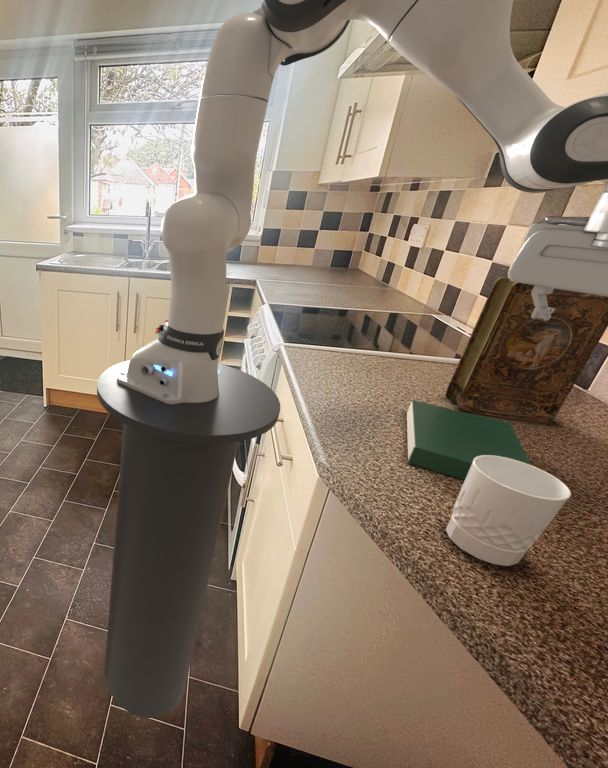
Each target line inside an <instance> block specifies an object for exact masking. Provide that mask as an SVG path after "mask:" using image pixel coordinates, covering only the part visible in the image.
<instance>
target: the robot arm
mask: <svg viewBox="0 0 608 768" xmlns="http://www.w3.org/2000/svg"><path fill="white" fill-rule="evenodd" d="M260 1H261V6H260V7H259V8H258V9H256V10H254V11H253V12H243V13H239V14H237V15H233V16H232V17H230V18H229V19H227V20H226V21H225V22H224V23H222V24H221V26H220V27H219V29H218V30H217V32H216V34H215V37H214V40H213V43H212V46H211V48H210V52H209V56H208V60H207V63H206V66H205V70H204V74H203V78H202V82H201V89H200V94H199V100H198V105H197V106H198V107H197V112H196V118H195V124H194V129H193V137H192V141H191V143H192V144H191V149H190V154H191V155H190V156H191V160H192V164H193V169H194V171H193V172H194V193H191V194H188V195H186V196H184V197H182V198H180V199H178V200H177V201H175V202H173V203H172V204H171V205H170V206H169V207H168V208H167V209H166V211H165V212H164V215H163V217H162V219H161V224H160V237H161V241H162V243H163V245H164V247H165V249H166V250H167V253H168V254H167V255H168V262H169V271H170V299H169V308H168V317H167V319H166V320H164V323H161V324H159V326H157V327H156V328H155V332H154V334H158V336H157V338H155V339H154V340H152V341H150V342H148V343H146V344H144V345H143V346H142V347H140V348H138V349H137V350H136V351H134V353H132V356H131V357H130V359H129V360H130V362H129V366H128V367H126V368H124V369H123V370H122V371H120V372H119V374H118V376H117V382H118V383H120V384H122V385H125V386H127V387H129V388H131V389H134V390H136V391H138V392H141V393H143V394H145V395H148V396H150V397H152V398H154V399H157V400H159V401H161V402H164V403H166V404H170V405H173V404H180V403H203V402H208V401H211V400H214V399H216V398H217V397H218V396H219V386H218V373H219V370H218V363H219V358H220V356H221V354H222V350H223V345H224V340H225V339H224V336H225V330H224V323H225V322H224V321H225V317H226V316H225V315H226V310H227V304H228V300H229V294H230V293H229V292H230V289H229V286H228V280H227V255H228V253H230V252H232V251H233V250H235V249H237V248H238V247H239V246H240V245H241V244H242V242H243V241H244V240H245V239H246V238H247V236H248V234H249V232H250V230H251V226H252V216H251V212H252V205H253V195H254V194H253V193H254V184H255V183H254V182H255V170H256V161H257V155H258V151H259V146H260V141H261V137H262V132H263V127H264V123H265V119H266V115H267V110H268V105H269V100H270V96H271V92H272V88H273V87H272V86H273V84H274V83H273V82H274V79H275V75H276V73H277V71H278V68H279V67H280V66H284V67H285V66H288V65H292V64H293V63H296V62H299V61H302V60H305V59H309V58H312V57H315V56H318V55H319V54H322V53H324V52H326V51H327V50H329V49H331V47H332V46H334V45H336V43H337V42H338V40H339V39H340V38H341V37H342V36H343V34H344V33H345V31H346V29H348V26H349V24H350V21H351V20H352V21H353V20H358V21H362V22H366V23H368V24H369V25H370V26H372V27H375V28H376V30H377V31H378V32H379V34H380V35H381V36H382V37H383V38H384V39H385V40H386V41H387V42H388V43H389V45H390V46H391V47H392V48H393V49H394V50H395V51H396V52H398V53H399V55H401V56H402V57H404V58H405V60H407V61H408V62H409V63H411V64H412V65H413V66H414V67H415V68H417V69H418V70H420V71H422V72H423V73H424V74H426V75H427V76H428V77H430V78H431V79H433V80H434V81H435V82H437V83H438V84H439V85H441V86H442V87H443V88H445V89H446V90H447V91H449V92H450V93H451V94H453V95H454V96H455V97H456V99H458V100H459V102H460V103H461V104H462V105H463V106H464V107H465V109H466V110H467V111H468V112H469V113H470V114H471V115H472V117H474V119H475V120H476V121H477V122H478V123H479V124H480V126H481V127H482V128H483V129H484V130H485V131H486V133H487V134H488V135H489V136H490V137H491V138H492V140H493V142H494V143H495V145H496V147H497V151H498V155H499V156H498V157H499V163H500V168H501V173H502V175H503V178H504V179H505V181H506V182H507V183H508V184H509V185H510V186H511V187H512V188H514V189H516V190H518V191H521V192H525V193H531V194H541V193H550V192H554V191H557V190H560V189H566V188H571V187H578V186H582V185H587V184H590V183H593V182H594V183H595V182H601V183H603V184H604V188H603V190H602V192H601V195H600V196H599V199H598V201H597V202H596V204H595V207H594V209H593V211H592V213H591V215H590V216H562V215H548V216H547V217H546V218H541V219H539V220H536V221H535V222H534V223H532V224H531V225H530V226H529V228H528V230H527V233H526V234H525V237H524V239H523V241H524V244H523V245H522V247H521V248H520V250H519V251H518V253H517V254H516V256H515V258H514V259H513V261H512V263H511V264H510V267H509V269H508V270H507V278H509V279H510V281H512V282H518V283H524V284H530V285H535V286H534V288H533V290H532V292H531V294H532V298H533V302H534V306H536V307H535V309H534V311H533V313H532V315H531V318H533V319H537V320H542V321H545V320H549V319H550V317H551V314H552V313H553V312H554V310H555V308H551V307H548V303H547V297H546V294H552V292H553V290H554V288H555V289H562V290H568V291H574V292H580V293H587V294H593V295H599V296H605V297H608V92H605V93H602V94H598V95H595V96H591V97H587V98H584V99H581V100H577V101H575V102H573V103H571V104H569V105H567V106H562V105H559V104H557V103H556V102H554V101H553V100H551V99H550V98H549V96H547V94H546V93H545V92H544V91H543V90H542V88H540V86H539V85H538V84H537V82H536V81H534V79H533V78H532V77H531V76H530V74H528V72H527V71H526V70H525V69H524V68H523V67H522V66H521V64H520V63H519V62H518V60H517V58H516V57H515V54H514V52H513V48H512V45H511V36H510V35H511V20H512V19H511V18H512V10H513V3H514V0H260Z"/></svg>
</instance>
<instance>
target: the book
mask: <svg viewBox="0 0 608 768" xmlns="http://www.w3.org/2000/svg"><path fill="white" fill-rule="evenodd" d="M534 286H535V285H530V284H524V283H518V282H512V281H510V279H509V277H503V276H501V277H498V278H497V279H495V281H494V282H493V284H492V287H491V289H490V291H489V293H488V295H487V298H486V301H485V302H484V304H483V306H482V309H481V312H480V313H479V315H478V318H477V321H476V322H475V325H474V327H473V328H472V332H471V334H470V336H469V339H468V340H467V343H466V345H465V347H464V349H463V352H462V354H461V356H460V359H459V361H458V363H457V365H456V368H455V369H454V372H453V374H452V377H451V379H450V381H449V383H448V386H447V387H446V390H445V398H446V399H447V400H449V401H451V402H454V403H455V404H456V409H457V410H458V411H461V412H466V413H471V414H476V415H486V416H490V417H498V418H504V419H512V420H518V421H526V422H530V423H531V422H532V423H538V424H546V425H551V424H553V422H554V420H555V419H556V417H557V415H558V414H559V412H560V410H561V408H562V407H563V405H564V403H565V402H566V399H567V398H568V396H569V395H570V393H571V391H572V389H573V388H574V386H575V384H576V382H577V381H578V379H579V377H580V375H581V373H582V372H583V370H584V369H585V367H586V365H587V363H588V361H589V360H590V358H591V356H592V355H593V353H594V351H595V349H596V347H598V344H599V343H600V341H601V339H602V337H603V336H604V334H605V333H606V330H607V329H608V297H605V296H599V295H593V294H587V293H580V292H574V291H568V290H562V289H555V288H554V290H553V292H552V294H546V297H547V303H548V307H551V308H555V310H554V312H553V313H552V314H551V317H550V319H549V320H545V321H542V320H537V319H533V318H531V315H532V313H533V311H534V309H535V307H536V306H534V302H533V298H532V294H531V292H532V290H533V288H534Z"/></svg>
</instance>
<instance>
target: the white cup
mask: <svg viewBox="0 0 608 768" xmlns="http://www.w3.org/2000/svg"><path fill="white" fill-rule="evenodd" d="M571 496H572V492H571V490H570V488H569V487H568V486H567V485H566V483H564V482H563V481H562V480H560V479H559V478H557V477H556V476H554V475H553V474H550V473H549V472H547V471H545V470H543V469H541V468H539V467H536V466H534V465H532V464H531V465H529V464H526V463H524V462H521V461H517V460H514V459H510V458H506V457H501V456H494V455H481V456H477V457H475V458H474V460H473V462H472V464H471V467H470V469H469V471H468V474H467V476H466V478H465V480H464V481H463V483H462V485H461V487H460V490H459V492H458V496H457V498H456V500H455V502H454V506H453V508H452V513H451V516H450V519H449V521H448V524H447V526H446V528H445V532H446V534H447V536H448V538H449V540H450V541H451V542H452V543H453V544H455V545H456V546H457V547H458V548H459V549H460V550H462V551H463V552H465V553H467V554H469V555H471V556H472V557H474V558H476V559H478V560H480V561H484V562H486V563H489V564H492V565H496V566H504V567H511V566H513V565H516V564H519V563H520V561H521V560H522V558H523V557H524V556H525V554H526V553H527V551H528V550H529V549H530V548H531V547H532V546H533V545H534V544H535V543H536V542H537V541H538V539H539V538H540V536H542V535H543V534H544V532H545V531H546V530H547V528H548V527H549V526H550V524H551V523H552V521H554V519H555V518H556V516H558V514H559V512H560V511H561V509H563V507H564V506H565V504H567V501H568V500H570V498H571Z"/></svg>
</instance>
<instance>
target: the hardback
mask: <svg viewBox="0 0 608 768" xmlns="http://www.w3.org/2000/svg"><path fill="white" fill-rule="evenodd" d="M406 432H407V433H406V435H407V438H406V439H407V461H408V464H410V465H414V466H417V467H420V468H423V469H426V470H430V471H433V472H435V473H436V472H437V473H440V474H442V475H443V474H444V475H446V476H450V477H452V478H453V477H454V478H457V479H460V480H464V481H465V478H466V476H467V474H468V471H469V469H470V467H471V464H472V462H473V460H474V458H475V457H477V456H481V455H494V456H501V457H506V458H510V459H514V460H517V461H521V462H524V463H526V464H529V465H532V463H531V462H530V459H529V458H528V455H527V454H526V451H525V450H524V447H523V445H522V443H521V441H520V439H519V438H518V437H519V436H518V435H517V433H516V432H515V430H514V428H513V425H512V423H511V422H507V421H504V420H499V419H495V418H491V417H486V416H483V415H479V414H475V413H471V412H466V411H461V410H458V409H452V408H448V407H445V406H440V405H436V404H431V403H426V402H422V401H419V400H414V399H412V401H411V402H410V405H409V407H408V409H407V412H406Z"/></svg>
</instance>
